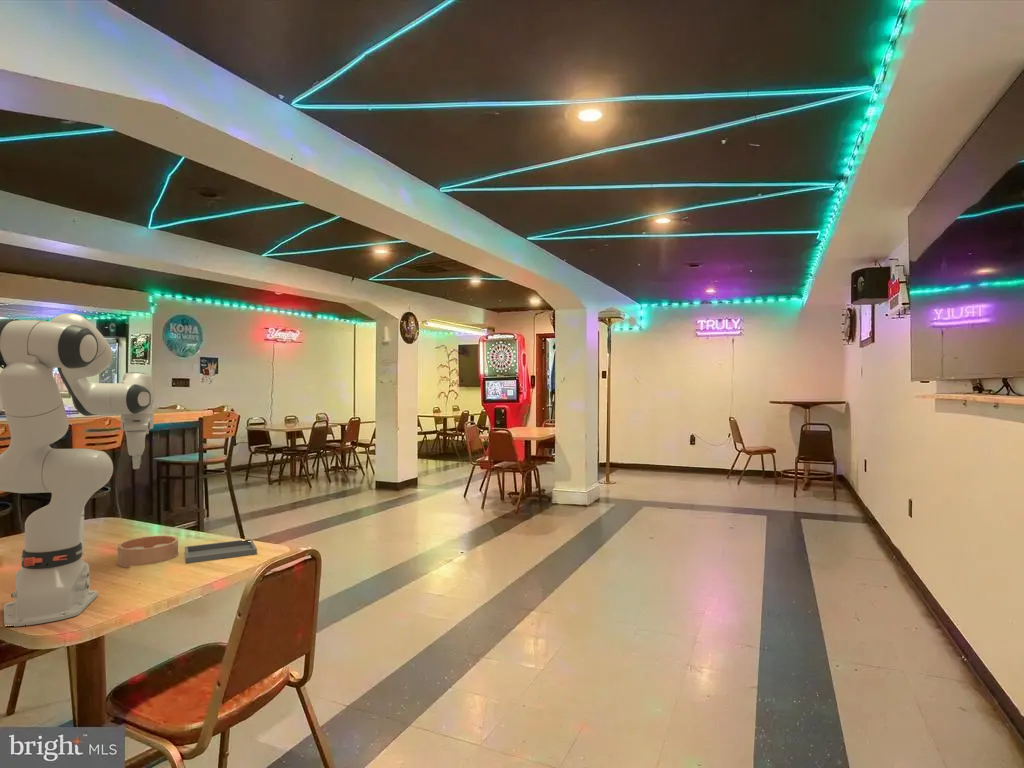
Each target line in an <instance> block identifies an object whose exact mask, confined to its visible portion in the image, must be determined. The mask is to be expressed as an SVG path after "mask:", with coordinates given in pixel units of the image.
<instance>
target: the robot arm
mask: <svg viewBox="0 0 1024 768" xmlns="http://www.w3.org/2000/svg"><path fill="white" fill-rule="evenodd" d="M112 360H113V350H112V346H111V345H110V343H109V342H108V341H107V339H106V338H105V336H104V335H103V334H102V333H101V332H100V331H99V329H98V328H97V327H96V326H95V325H94V324H93V323H91V322H90V321H89V320H87V318H85V317H84V316H82V315H80V314H78V313H71V312H69V313H68V312H67V313H62V314H59V315H56V316H54V317H53V318H52V319H50V321H48V320H40V319H39V320H37V319H33V320H32V319H24V320H23V319H17V318H12V319H11V318H10V319H9V318H8V319H2V320H0V368H1V369H2V370H1V371H0V400H1V405H2V407H3V412H4V415H5V418H6V420H7V425H8V429H9V433H10V442H9V446H8V447H7V449H5V451H3V452H2V453H0V491H2V492H8V493H15V494H17V493H18V494H40V493H42V494H46V493H50V494H51V498H50V502H49V503H48V504H46V505H45V506H43V507H40V508H38V509H36V510H35V511H32V513H31V514H29V516H27V518H26V520H25V521H24V549H23V550H22V552H21V554H22V555H21V559H20V560H21V567H22V568H20V569H19V570H18V571H16V573H15V591H12V592H11V594H10V597H11V598H12V599H15V600H13V601H10V602H8V603H7V602H6V603H5V604H4V605H3V626H4V625H7V626H8V625H9V626H10V625H11V626H14V627H24V626H25V625H26V626H32V625H39V624H45V623H51V622H56V621H57V622H58V621H61V620H65V619H69V618H73V617H75V616H76V617H77V616H79V615H80V614H81V613H82V612H83V611H84V610H85V609H86V608H87V607H88V606H89V605H90V604H91V603H92V602H93V601H94V600H95V599H96V598H97V597H98V596H99V593H98V590H95V589H94V590H92V589H90V586H91V585H90V565H89V564H88V563H87V562H86V561H84V560H83V559H82V556H83V554H82V543H81V542H80V525H81V516H82V512H83V509H84V510H85V507H86V504H87V503H88V501H89V500H90V498H91V497H92V496H93V495H94V494H95V493H96V492H97V491H99V490H100V489H102V488H103V487H105V486H106V485H107V484H108V483H109V481H110V480H111V478H112V476H113V473H114V464H113V460H112V459H111V456H110V455H109V454H107V452H105V451H103V450H96V449H89V448H52V447H51V446H50V445H52V444H54V443H55V442H57V441H59V440H60V439H62V438H63V437H64V436H65V435H66V434H67V432H68V431H69V425H70V423H69V419H68V416H67V412H66V408H65V403H64V400H63V397H62V393H61V391H60V389H59V387H58V386H59V385H58V383H57V381H56V378H55V377H54V375H53V371H54V368H55V369H57V371H58V374H59V376H60V378H61V380H62V382H63V384H64V386H65V388H66V390H67V391H68V393H69V394H70V396H71V397H70V398H71V399H72V404H73V407H74V408H75V410H77V412H78V413H79V414H81V415H83V416H85V417H90V416H91V417H92V416H104V415H105V416H106V415H107V416H109V415H111V416H112V415H113V416H115V415H116V416H117V415H120V430H121V431H122V430H123V432H124V433H125V436H126V446H127V453H128V455H129V456H131V459H132V469H133V470H138V469H141V468H140V467H141V466H140V465H142V456H143V454H144V451H145V448H146V444H145V443H146V435H149V433H150V432H149V431H150V430H152V429H154V419H155V417H154V410H153V403H154V399H155V394H154V384H153V383H154V382H153V380H152V375H149V374H148V373H144V372H134V371H133V372H132V371H130V372H126V373H124V374H123V375H122V379H121V380H122V381H120V382H117V383H115V382H113V383H112V382H111V383H109V382H107V383H106V382H102V383H101V382H93V381H92V382H91V381H89V379H88V378H91V377H94V376H97V375H99V374H101V373H103V372H104V371H105V370H106V369H107V368H108V367H109V366H110V364H111V363H112Z"/></svg>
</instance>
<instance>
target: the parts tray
mask: <svg viewBox="0 0 1024 768" xmlns="http://www.w3.org/2000/svg"><path fill="white" fill-rule="evenodd" d="M242 540H243V539H239V540H231V541H223V542H222V541H221V542H213V543H205V544H198V545H189V546H184V557H185V565H186V564H194V563H201V562H208V561H209V562H210V561H218V560H224V559H232V558H238V557H247V556H253V555H254V556H255V555H258V554H257V553H258V548H257V546H256V545H255V543H254V540H253V539H252V538H247V539H244V540H245V541H242ZM248 541H251V542H248Z"/></svg>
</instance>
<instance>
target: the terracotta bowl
mask: <svg viewBox="0 0 1024 768" xmlns="http://www.w3.org/2000/svg"><path fill="white" fill-rule="evenodd" d="M158 544H166V545H162V546H157V547H153V546H155V545H158ZM132 547H144V548H143V549H129V548H132ZM178 549H179V538H178V537H177V536H173V535H151V536H143V537H137V538H132V539H129V540H126V541H123V542H120V543H118V546H117V566H119V565H120V566H119V567H121V566H122V567H121V568H127V567H129V568H131V566H144V565H152V564H153V565H154V564H158V563H161V562H166V561H169V560H172V559H174V558H176V557H177V556H178V555H179V550H178Z"/></svg>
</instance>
